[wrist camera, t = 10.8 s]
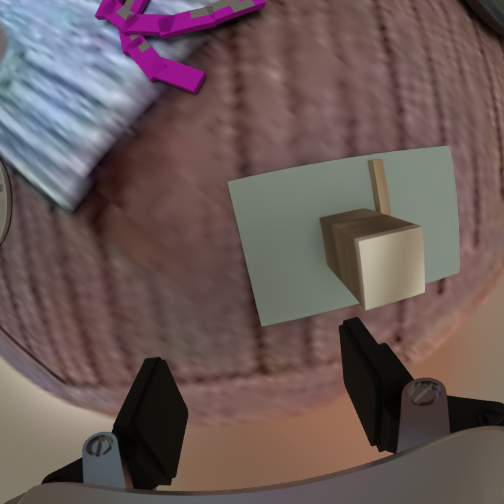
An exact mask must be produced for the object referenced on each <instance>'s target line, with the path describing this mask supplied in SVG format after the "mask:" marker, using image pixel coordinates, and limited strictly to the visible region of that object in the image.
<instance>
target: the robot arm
mask: <svg viewBox="0 0 504 504" xmlns="http://www.w3.org/2000/svg"><path fill="white" fill-rule="evenodd" d="M10 215H11V191H10V184H9V180H8V176H7V172H6V170H5V168H4V165H3V164H2V162H1V161H0V244H1V242H2V241H3V239H4V237H5V235H6V233H7V230H8V226H9V222H10ZM339 334H340V344H341V354H342V366H343V378H344V384H345V387H346V389H347V392H348V394H349V396H350V398H351V401H352V403H353V405H354V407H355V410H356V412H357V414H358V417H359V419H360V421H361V424H362V426H363V428H364V431H365V433H366V435H367V438H368V440H369V442H370V445H371V446H375V445H376V446H377V448H378V450H379V452H382V451H385V450H386V451H388V452H391V453H394V454H393V455H390V456H388V457H385V458H382V459H379V460H376V461H372V462H369V463H366V464H363V465H359V466H357V467H353V468H349V469H346V470H342V471H338V472H334V473H331V474H326V475H322V476H317V477H313V478H308V479H304V480H299V481H293V482H288V483H281V484H275V485H269V486H260V487H252V488H243V489H231V490H214V491H157V489H156V487H157V486H158V485H171V481H172V478H175V477H176V474H177V468H178V464H179V459H180V453H181V449H182V444H183V439H184V434H185V429H186V424H187V419H188V409H187V407H186V404H185V402H184V400H183V398H182V396H181V394H180V392H179V390H178V387H177V385H176V383H175V381H174V379H173V376H172V374H171V372H170V370H169V367H168V365H167V363H166V361H165V360H162V359H161V358H160V357H155V358H147V359H145V360H144V362H143V364H142V366H141V368H140V370H139V372H138V374H137V377H136V379H135V381H134V383H133V385H132V387H131V389H130V391H129V393H128V395H127V397H126V399H125V401H124V403H123V406H122V408H121V410H120V412H119V414H118V416H117V418H116V421H115V423H114V425H113V427H114V428H113V430H112V432H111V433H110V432H99V433H96V434H94V435H92V436H91V437H89V438H88V439H87V440H86V441H85V443H84V445H83V449H82V456H83V457H82V458H80V459H78V460H76V461H74V462H72V463H70V464H68V465H67V466H65V467H63V468H61V469H59V470H57V471H55V472H53V473H51V474H49V475H48V476H46V477H45V478H44V480H43V481H42V483H41V484H40V485H37V486H34V487H32V488H31V489H29V490H28V491H27V492H25V493H23V494H21V495H19V496H17V497H15V498H13V499H11V500H9V501H7V502H6V503H4V504H504V404H503V403H500V402H495V401H485V400H477V399H469V398H461V397H454V396H448V395H447V393H446V389H445V386H444V385H443V384H442V383H441V382H440V381H438V380H436V379H433V378H419V379H415V380H414V379H413V377H412V376H411V375H410V373H409V372H408V371H407V369H406V368H405V367H404V365H403V364H402V363H401V361H400V360H399V359H398V358H397V356H396V355H395V354H394V352H393V351H392V350H391V348H390V347H389V346H388V345H387V344H386V343H382V344H379V345H378V343H377V342H376V341H375V339H374V338H373V337H372V335H371V334H370V333H369V331H368V330H367V328H366V327H365V326H364V324H363V323H362V322H361V320H360V319H359V318H358V317H355V318H351V319H347V320H344V321H343V325H339Z"/></svg>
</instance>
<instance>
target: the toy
mask: <svg viewBox="0 0 504 504" xmlns="http://www.w3.org/2000/svg"><path fill="white" fill-rule="evenodd" d="M123 1H124V0H102V2H101V4H100V6H99V8H98V10H97V12H96V15H95V17H96V18H97V19H98V20H104V19H107V20H108V21H109V22H111V23H112V24H113V25H115V26H116V27H117V28H118V29H119V34H120V39H121V44H122V49H123V53H124V54H125V55H126V56H128V55H131V57H132V58H133V59H134V60H135V62H136V63H137V64H138V65H139V67H140V68H141V69H142V71H143V72H144V73H145V74H146V76H147V77H148V78H149V79H150V80H151V81H152V82H155V81H156V80H159V81H162V82H165V83H168V84H170V85H173V86H176V87H178V88H181V89H184V90H186V91H189V92H191V93H194V94H196V93H197V91H198V89H199V87H200V86H201V84H202V82H203V80H204V79H205V77H206V74H205V72H202V71H200V70H197V69H194V68H192V67H189V66H186V65H183V64H180V63H177V62H175V61H172V60H169V59H165V58H162V57H160V56H159V55H158V54H157V53H156V51H155V50H154V49H153V48H152V47H151V45H150V44H149V43H148V42H147V41H146V40H145V38H144V37H143V35H149V36H161V38H162V39H163V40H164V39H167V38H171V37H174V36H178V35H182V34H186V33H190V32H194V31H198V30H203V29H207V28H212V27H216V25H217V24H220V23H222V22H225V21H227V20H230V19H232V18H235V17H238V16H241V15H243V14H246V13H249V12H252V11H255V10H258V9H261V8H264V7H265V1H264V0H220V1H218V2H215V3H212V4H210V5H207V6H205V7H204V8H200V9H195V10H191V11H187V12H183V13H179V14H175V15H156V14H142V12H143V10H144V8H145V6H146V4H147V2H148V0H126V2H125V4H124V6H123V5H122V3H123Z"/></svg>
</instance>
